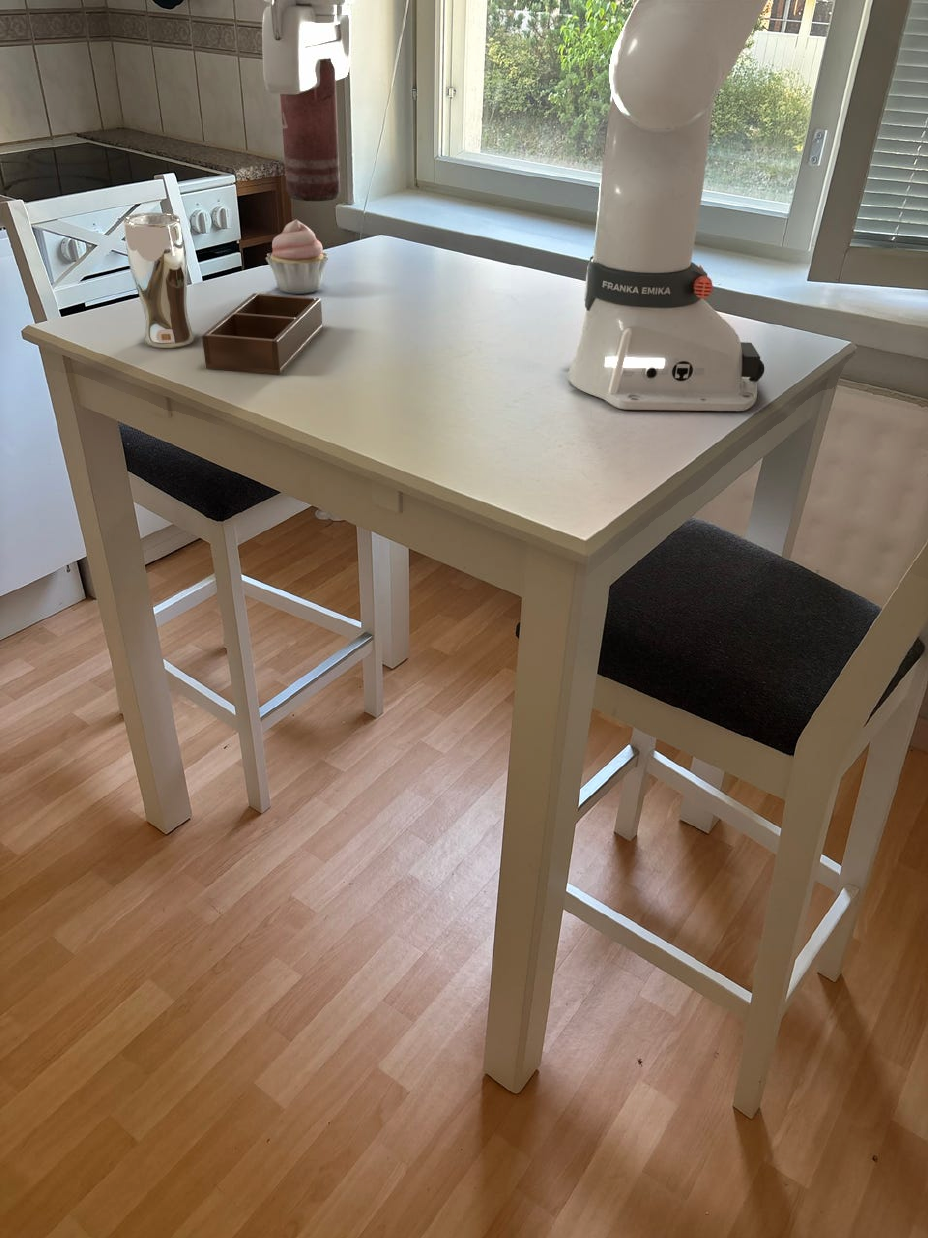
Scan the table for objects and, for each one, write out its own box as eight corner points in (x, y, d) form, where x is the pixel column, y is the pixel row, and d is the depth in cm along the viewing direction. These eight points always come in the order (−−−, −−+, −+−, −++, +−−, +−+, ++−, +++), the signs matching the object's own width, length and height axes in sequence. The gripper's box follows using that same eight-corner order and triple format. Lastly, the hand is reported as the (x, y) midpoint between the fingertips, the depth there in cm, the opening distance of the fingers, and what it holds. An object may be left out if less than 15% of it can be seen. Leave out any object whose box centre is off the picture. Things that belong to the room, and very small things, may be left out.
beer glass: (183, 351, 120) (165, 226, 112) (132, 346, 121) (110, 222, 113) (206, 334, 126) (190, 214, 117) (157, 330, 127) (138, 210, 118)
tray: (322, 328, 129) (320, 298, 127) (280, 374, 115) (277, 341, 112) (256, 323, 130) (253, 292, 128) (205, 368, 116) (201, 335, 113)
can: (300, 204, 107) (291, 59, 99) (279, 193, 111) (269, 54, 103) (349, 199, 109) (345, 58, 101) (327, 189, 114) (321, 53, 106)
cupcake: (298, 301, 139) (293, 229, 133) (255, 288, 144) (249, 218, 138) (343, 288, 145) (340, 219, 140) (301, 276, 150) (296, 209, 144)
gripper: (304, -14, 90) (312, 148, 97) (358, -17, 106) (362, 121, 114) (239, -17, 90) (253, 144, 98) (304, -19, 107) (311, 118, 115)
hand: (312, 132), depth 106 cm, fingers closed, pressing on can
